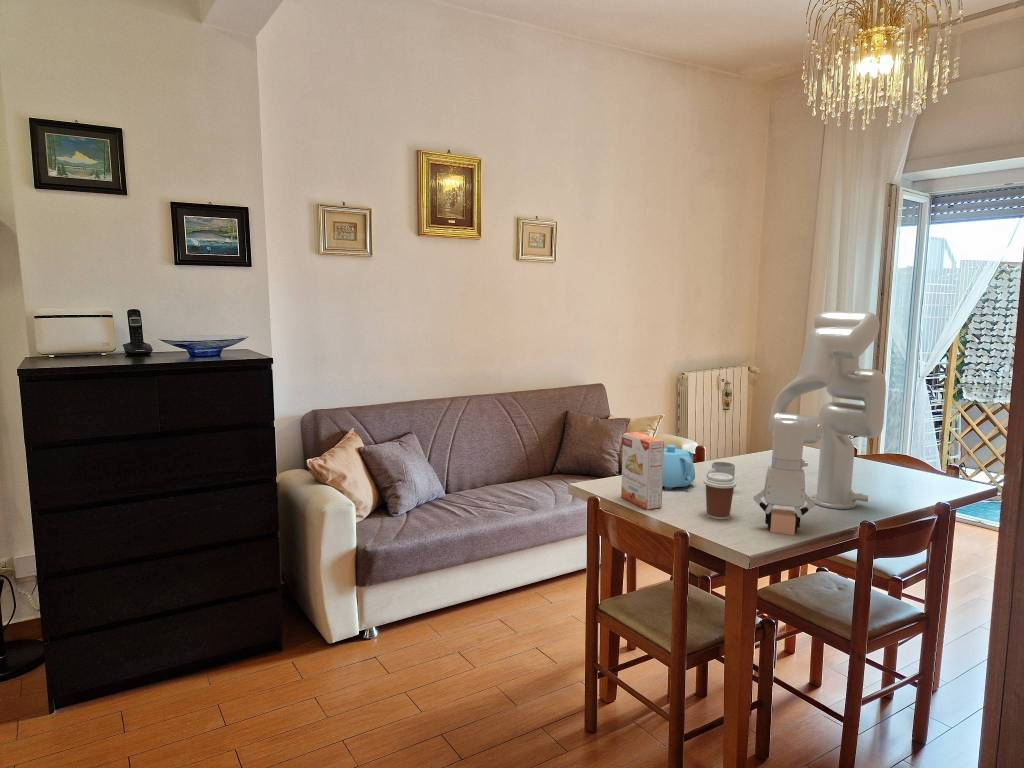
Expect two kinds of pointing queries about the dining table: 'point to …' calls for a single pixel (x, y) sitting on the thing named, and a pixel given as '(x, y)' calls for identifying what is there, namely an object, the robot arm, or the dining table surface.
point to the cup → (722, 468)
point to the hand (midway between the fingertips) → (782, 527)
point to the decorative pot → (677, 467)
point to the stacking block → (783, 521)
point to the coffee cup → (719, 495)
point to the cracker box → (642, 470)
